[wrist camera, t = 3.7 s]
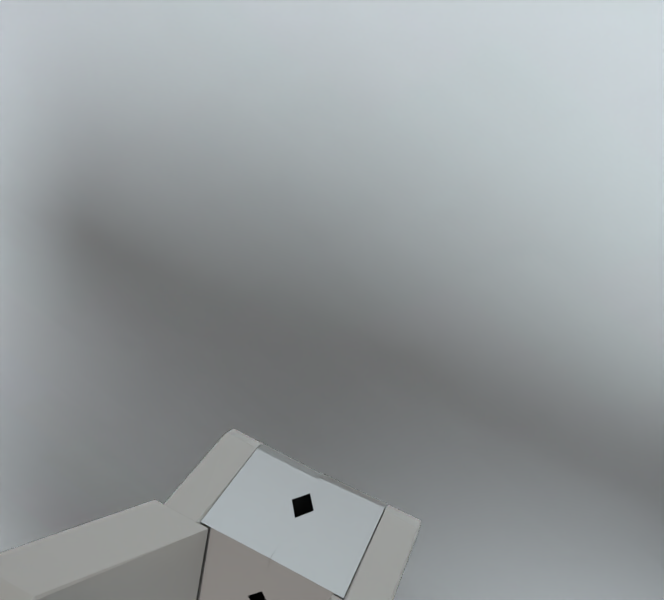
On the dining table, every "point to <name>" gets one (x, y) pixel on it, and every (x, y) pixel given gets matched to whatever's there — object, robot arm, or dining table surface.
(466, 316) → the dining table surface
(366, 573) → the robot arm
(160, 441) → the dining table surface
